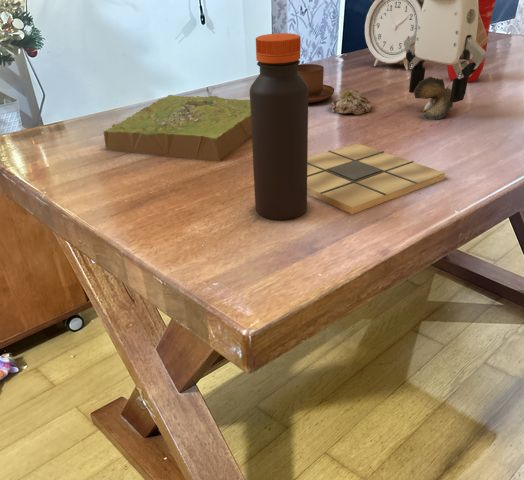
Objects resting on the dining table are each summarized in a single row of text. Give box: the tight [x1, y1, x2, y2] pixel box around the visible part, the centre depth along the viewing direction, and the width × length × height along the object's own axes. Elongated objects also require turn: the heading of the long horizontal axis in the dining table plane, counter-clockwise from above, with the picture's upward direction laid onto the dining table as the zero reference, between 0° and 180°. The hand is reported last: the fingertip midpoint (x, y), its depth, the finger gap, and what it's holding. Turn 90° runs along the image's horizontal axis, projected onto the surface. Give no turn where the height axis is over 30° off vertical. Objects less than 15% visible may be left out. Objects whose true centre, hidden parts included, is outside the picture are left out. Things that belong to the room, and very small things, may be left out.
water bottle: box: [446, 0, 497, 83], centre depth 114 cm, size 12×8×25 cm, turn 159°
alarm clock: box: [364, 0, 424, 71], centre depth 130 cm, size 16×9×22 cm, turn 49°
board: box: [307, 142, 446, 215], centre depth 79 cm, size 18×18×1 cm
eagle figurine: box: [413, 76, 454, 121], centre depth 101 cm, size 8×7×9 cm
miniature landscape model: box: [102, 94, 252, 162], centre depth 97 cm, size 22×24×5 cm
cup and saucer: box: [297, 63, 335, 104], centre depth 113 cm, size 12×12×6 cm
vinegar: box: [249, 32, 309, 221], centre depth 65 cm, size 7×7×20 cm
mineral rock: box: [330, 89, 373, 116], centre depth 107 cm, size 11×4×8 cm
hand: (435, 96), depth 101 cm, fingers open, 9 cm apart
